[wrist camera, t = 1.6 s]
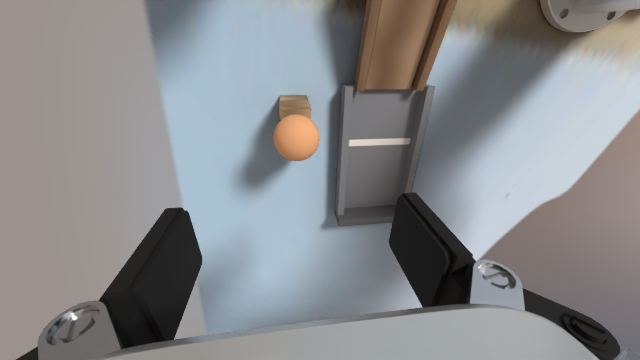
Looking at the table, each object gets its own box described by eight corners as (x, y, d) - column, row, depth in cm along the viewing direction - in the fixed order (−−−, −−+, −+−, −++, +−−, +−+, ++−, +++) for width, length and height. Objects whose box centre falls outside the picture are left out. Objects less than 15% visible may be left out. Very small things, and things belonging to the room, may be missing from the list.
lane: (425, 84, 27) (440, 88, 25) (399, 208, 35) (408, 221, 33) (341, 84, 26) (347, 88, 23) (334, 212, 34) (338, 226, 32)
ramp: (442, -58, 21) (489, -89, 16) (414, 88, 27) (442, 97, 22) (363, -63, 21) (387, -97, 16) (352, 88, 26) (367, 98, 21)
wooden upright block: (306, 95, 26) (310, 105, 22) (306, 137, 28) (310, 155, 24) (280, 95, 26) (278, 106, 21) (282, 138, 28) (282, 156, 24)
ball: (316, 109, 22) (322, 120, 19) (316, 150, 24) (321, 167, 21) (272, 110, 22) (269, 122, 18) (275, 151, 24) (274, 169, 20)
